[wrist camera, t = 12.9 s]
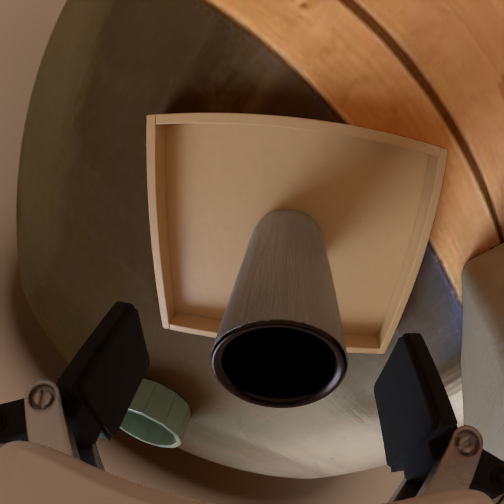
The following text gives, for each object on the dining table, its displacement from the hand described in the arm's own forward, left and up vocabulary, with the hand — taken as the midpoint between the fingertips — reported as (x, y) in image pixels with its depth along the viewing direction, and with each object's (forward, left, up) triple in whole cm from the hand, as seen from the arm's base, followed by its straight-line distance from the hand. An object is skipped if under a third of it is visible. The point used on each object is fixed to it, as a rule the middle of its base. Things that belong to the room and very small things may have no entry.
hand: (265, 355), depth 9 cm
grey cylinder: (0, 0, -10) cm, 10 cm away
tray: (+1, 0, -10) cm, 10 cm away
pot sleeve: (-12, -23, -10) cm, 28 cm away
